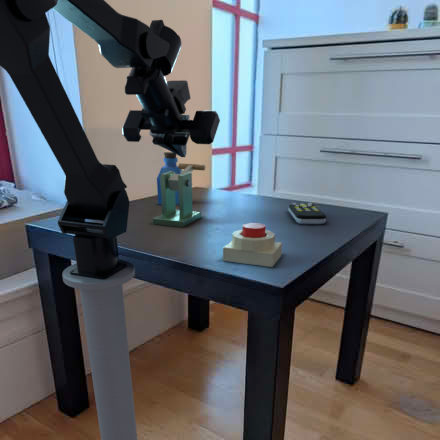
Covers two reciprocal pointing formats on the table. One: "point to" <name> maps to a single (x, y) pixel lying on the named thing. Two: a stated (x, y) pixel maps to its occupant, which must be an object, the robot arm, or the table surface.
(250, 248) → the control box
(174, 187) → the lever
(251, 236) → the button
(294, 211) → the remote control
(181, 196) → the bracket
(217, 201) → the table surface
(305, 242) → the table surface
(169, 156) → the perfume bottle
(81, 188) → the robot arm
